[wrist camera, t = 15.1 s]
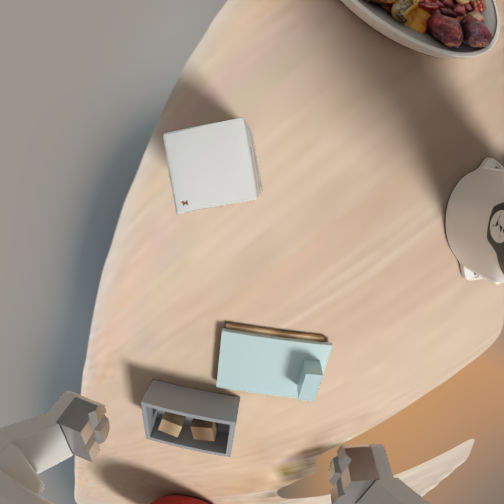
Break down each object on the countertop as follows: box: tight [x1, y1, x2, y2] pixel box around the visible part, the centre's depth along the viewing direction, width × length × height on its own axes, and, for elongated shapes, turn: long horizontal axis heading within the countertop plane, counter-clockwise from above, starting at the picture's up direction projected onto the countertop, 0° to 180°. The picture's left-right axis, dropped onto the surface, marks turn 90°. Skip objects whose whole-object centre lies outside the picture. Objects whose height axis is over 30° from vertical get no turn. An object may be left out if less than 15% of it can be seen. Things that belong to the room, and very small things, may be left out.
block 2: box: [190, 418, 218, 441], centre depth 44 cm, size 4×4×5 cm
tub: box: [141, 379, 240, 457], centre depth 44 cm, size 15×10×6 cm, turn 82°
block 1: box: [158, 412, 186, 437], centre depth 45 cm, size 4×4×5 cm
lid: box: [216, 328, 332, 401], centre depth 41 cm, size 16×11×4 cm
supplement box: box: [163, 117, 262, 214], centre depth 30 cm, size 7×7×13 cm
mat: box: [226, 323, 325, 342], centre depth 43 cm, size 14×12×1 cm
